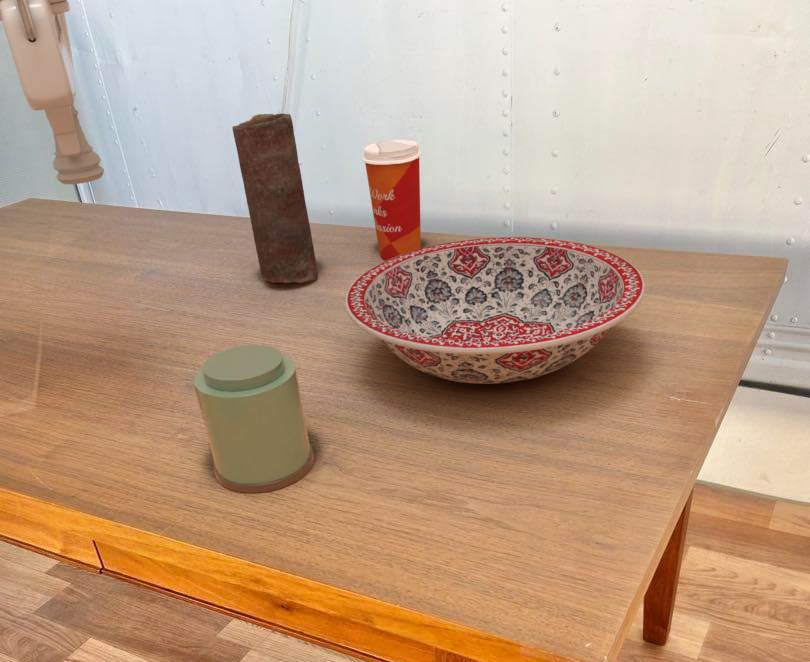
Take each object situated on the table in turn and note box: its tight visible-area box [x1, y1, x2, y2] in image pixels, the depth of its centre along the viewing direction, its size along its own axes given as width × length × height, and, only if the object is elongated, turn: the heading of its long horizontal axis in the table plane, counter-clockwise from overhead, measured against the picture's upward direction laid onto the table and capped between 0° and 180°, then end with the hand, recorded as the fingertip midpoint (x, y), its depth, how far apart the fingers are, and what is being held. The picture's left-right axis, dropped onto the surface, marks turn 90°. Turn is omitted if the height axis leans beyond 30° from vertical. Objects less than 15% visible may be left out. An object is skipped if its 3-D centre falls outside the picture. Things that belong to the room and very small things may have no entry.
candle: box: [232, 113, 319, 284], centre depth 106 cm, size 8×7×20 cm
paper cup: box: [361, 139, 423, 261], centre depth 112 cm, size 8×8×14 cm
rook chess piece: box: [45, 91, 105, 185], centre depth 77 cm, size 4×4×8 cm
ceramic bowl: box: [344, 236, 646, 385], centre depth 86 cm, size 29×29×8 cm
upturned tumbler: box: [193, 344, 315, 494], centre depth 72 cm, size 9×9×10 cm
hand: (72, 148), depth 78 cm, fingers closed on rook chess piece, 3 cm apart
